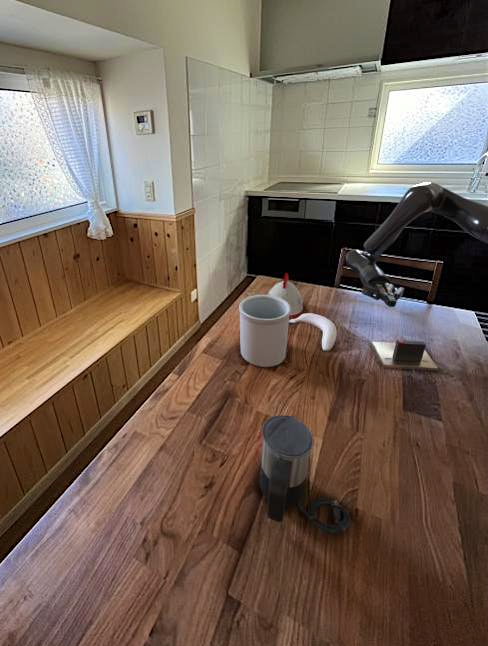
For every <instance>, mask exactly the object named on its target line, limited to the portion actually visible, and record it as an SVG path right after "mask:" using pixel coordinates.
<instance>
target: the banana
mask: <svg viewBox="0 0 488 646" xmlns="http://www.w3.org/2000/svg"><path fill="white" fill-rule="evenodd" d="M289 323H293V324H296V323H303V324H310V325H313V326H315V327H316V328H318V329H320V331H322V338H321V348H322V350H323V351H325V352H329V351H330V350H331V349H333V347H334V345H335V343H336V340H337V334H338V332H337V331H338V330H337V327H336V325H335V323H334V322H332V320H330V319H329V318H326V317H325V316H323V315H320V314H316V313H313V312H312V313H311V312H309V313H308V312H307V313H302V314H301V315H300V316H299V317H297V318H294V319H289Z"/></svg>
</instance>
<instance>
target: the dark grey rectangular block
mask: <svg viewBox="0 0 488 646" xmlns="http://www.w3.org/2000/svg"><path fill="white" fill-rule="evenodd" d="M395 343H396V345H395V349H394V353H393V358H394V360H400V361H416V362H421V360H422V357H423V353H424V350H425V351H426V346H427V344H426V343H425V341H423V340H422V341H421V340H419V341H418V340H406V339H405V340H404V339H403V340H402V339H397V340H396V341H395Z"/></svg>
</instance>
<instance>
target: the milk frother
mask: <svg viewBox="0 0 488 646" xmlns="http://www.w3.org/2000/svg"><path fill="white" fill-rule="evenodd" d="M261 436H262V449H261V461H260V462H261V463H260V472H259V487H260V490H261V492H262V493H263V495H264V497H265V498H266V499H267V511H266V512H267V514H266V515H267V518H268V519H270V520H272V521H274V522H277V523H282V522H283V521H284V517H285V516H284V515H285V508H290V507H294V506H296V507H297V508H298V509H299V511H301V514H302V515H303V516H304V517H305V518H306V520H308V522H309V523H310V524H311V525H312V526H313V527H314V528H316V529H317V530H319V531H321V532H322V533H325V534H328V535H339V534H342V533H345V532H346V531H348V530H349V528H350V526H351V523H352V519H351V515H350V512H349V511H348V510H347V509H346V508H345V507H344V505H342V504H341V503H339V502H338V501H337V500H332V499H328V498H317V499H316V500H313V501H311V503H309V505H308V507H307V511H306V509H305V508H304V507H303V505H302V504H301V502H302V500H303V499H304V496H305V493H306V481H307V473H308V468H309V461H310V455H311V451H312V449H313V446H314V437H313V434H312V432H311V430H310V429H309V427H307V425H306V424H305V423H304V422H302V421H301V420H299V419H298V418H295V417H293V416H291V415H285V414H283V415H282V414H281V415H280V414H279V415H273V416H272V417H271V416H270V417H269V418H268V419H267V420H266V421H264V423H263V425H262V428H261ZM322 506H330V507H329V508H330V510H329V511H330V514H332V523H333V524H327V523H324V522H322V521H321V520H320V519H319V518H317V516H316V514H315V513H316V511H317V509H319V508H320V507H322Z"/></svg>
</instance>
